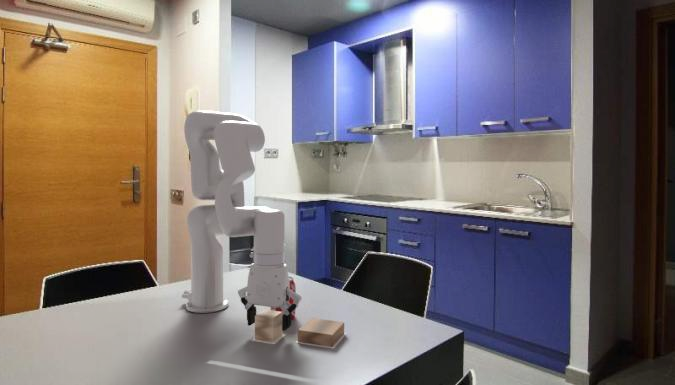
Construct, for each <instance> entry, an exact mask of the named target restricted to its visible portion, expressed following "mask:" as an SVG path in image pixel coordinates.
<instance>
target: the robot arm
mask: <svg viewBox="0 0 675 385" xmlns="http://www.w3.org/2000/svg"><path fill="white" fill-rule="evenodd" d="M183 128H184V131H183V132H184V137H185V141H186V142H185V143H186V145H187V148H188V152H189V157H190V160H189V161H190V184H191V186H190V188H191V193H192V196H193V197H194V199H196V200H198V201H209V202H210V201H214V204H204V205H197V206H196V207H193V208H191V209H190V210H189V212H188V213H187V214H188V215H187V227H188V228H187V229H188V233H189V239H190V278H191V279H190V286H191V287H190V289H191V290H188V289H187V290H186V289H185V290H184V291H183V293H182V295H181V298H182V299H188V300H187V301H188V302H187V303H186V304H185V309H186V310H187V311H188V312H192V313H197V314H207V313H214V312H219V311H223V310H225V309H226V308H228V307H229V300H228V299H226V298H224V249H223V246H222V245H221V243H220V241H219V240H218V239H217V236H222V235H225V236H226V237H229V238H238V237H249V236H250V237H251V236H253V252H250V254H249V258H251V259H252V260H253V263H251V264H250V267H249V271H248V276H247V285H246V286H245V287H242V288H241V289H239V290H237V294H238V296H239V298H240V302H241V304H243V306H244V309H245V310H246V320H247V326H249V327H250V326H251V325H253V324H255V315H257V306H261V307H266V308H268V307H269V308H271V307H275V308H278V307H280V308H281V309H282V311H283V312H284V314H283V315H282V332H286V331H287V330H288V329H290V327H291V326H292V320H291V313H292V312H293V311H294V310H295V311H296V310H297V308H298V307H299V305H300V303H301V301H302V296H301V295H300V294H298V293H297V292H296V293H295V292H294V291H292V290H291V289H290V284H289V277H290V276H289V270H288V264H287V263H285V232H286V231H285V228H286V227H285V223H286V222H285V219H286V218H285V213H284V211H282V210H280V209H275V208H270V207H268V206H262V205H261V206H259V205H258V206H257V205H256V206H255V205H254V206H245V204H246V203H245V185H244V181H246V180H248V179H249V178H250V177H252V176H253V174H255V171H256V167H255V164H254V160H253V158H252V154H251V153H256V152H261V150H262V149H263V148H264V146H265V143H266V142H265V141H266V137H265V133H264V130H263V128H262V127H261V126H260V125H259V124H258V123H257V122H255V121H253V120H251V119H249V118H248V117H246V116H244V115H241V114H237V113H231V112H220V111H216V110H215V111H214V110H195V111H191V112H190V113H189V114H188V115H187V116H186V118H185V121H184V126H183ZM211 140H212V141H214V142H215V146H214V145H213V143H212V142H211ZM220 166H221V168H220ZM290 298H292V299H293V300H294V301H293V304H292V305H291V304H290V303H289V299H290Z"/></svg>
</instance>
